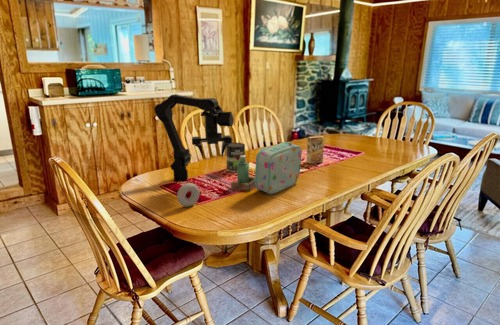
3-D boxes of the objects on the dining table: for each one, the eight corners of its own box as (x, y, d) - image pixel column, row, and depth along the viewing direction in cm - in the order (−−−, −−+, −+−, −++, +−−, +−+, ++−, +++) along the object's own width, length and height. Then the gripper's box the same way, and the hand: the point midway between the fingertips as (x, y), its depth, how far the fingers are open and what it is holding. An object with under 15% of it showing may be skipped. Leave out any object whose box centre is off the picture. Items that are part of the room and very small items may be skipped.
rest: (231, 188, 165) (231, 182, 165) (238, 181, 175) (238, 175, 174) (250, 190, 163) (250, 184, 162) (257, 183, 172) (257, 177, 172)
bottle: (242, 187, 165) (241, 158, 161) (235, 183, 169) (234, 155, 165) (251, 184, 168) (251, 156, 165) (244, 181, 173) (244, 153, 169)
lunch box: (284, 178, 180) (286, 137, 174) (302, 182, 174) (304, 140, 168) (252, 192, 160) (252, 147, 154) (270, 198, 154) (271, 151, 148)
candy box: (309, 163, 205) (310, 138, 201) (306, 161, 209) (307, 136, 205) (323, 162, 208) (324, 137, 203) (319, 160, 211) (321, 135, 207)
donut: (197, 201, 150) (196, 179, 147) (201, 204, 148) (200, 181, 145) (176, 208, 144) (174, 185, 141) (180, 210, 141) (179, 187, 139)
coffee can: (247, 171, 191) (247, 146, 187) (228, 172, 188) (228, 147, 185) (242, 166, 201) (242, 142, 197) (224, 167, 198) (224, 143, 194)
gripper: (191, 129, 156) (193, 163, 160) (233, 127, 159) (233, 161, 164) (191, 125, 167) (192, 156, 171) (230, 123, 170) (230, 154, 174)
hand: (212, 157), depth 170 cm, fingers open, 9 cm apart
